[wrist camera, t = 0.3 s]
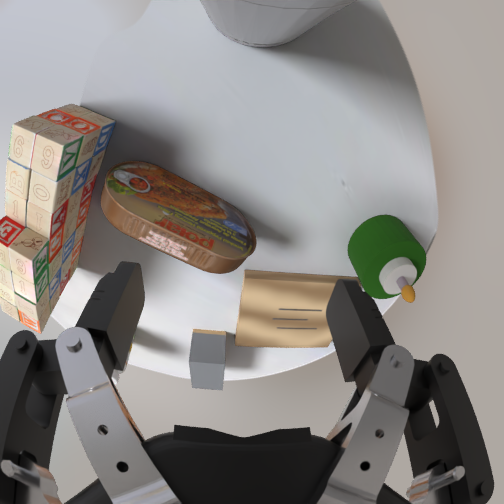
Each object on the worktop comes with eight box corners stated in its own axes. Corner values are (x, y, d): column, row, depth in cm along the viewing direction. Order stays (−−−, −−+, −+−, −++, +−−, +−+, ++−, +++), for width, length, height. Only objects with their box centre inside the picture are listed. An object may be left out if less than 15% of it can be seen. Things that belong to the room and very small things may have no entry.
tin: (256, 217, 29) (261, 269, 22) (240, 238, 30) (240, 292, 24) (129, 150, 24) (89, 183, 17) (118, 176, 25) (80, 215, 18)
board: (244, 269, 33) (244, 278, 32) (357, 277, 34) (361, 284, 33) (235, 338, 41) (235, 345, 40) (325, 339, 43) (327, 347, 41)
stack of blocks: (71, 101, 20) (-14, 133, 10) (118, 120, 22) (41, 160, 12) (44, 249, 30) (1, 312, 20) (78, 267, 32) (40, 336, 22)
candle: (415, 221, 29) (457, 272, 21) (389, 271, 34) (419, 327, 26) (361, 208, 28) (401, 265, 20) (338, 266, 33) (362, 328, 25)
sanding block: (195, 358, 45) (192, 387, 40) (193, 328, 40) (188, 361, 35) (223, 360, 45) (222, 390, 41) (226, 330, 40) (224, 364, 35)
